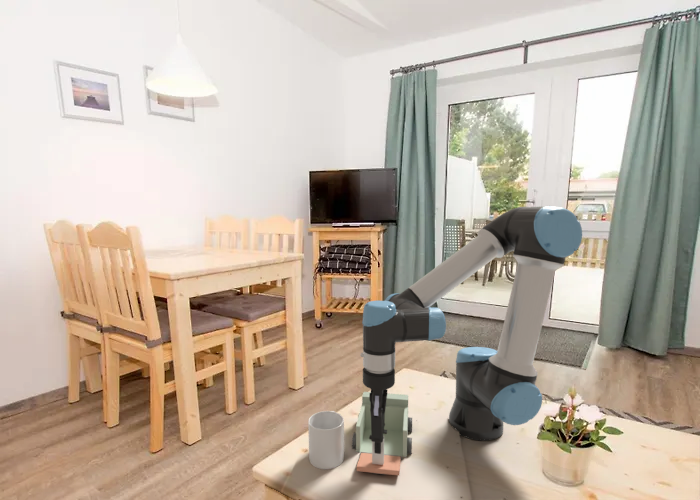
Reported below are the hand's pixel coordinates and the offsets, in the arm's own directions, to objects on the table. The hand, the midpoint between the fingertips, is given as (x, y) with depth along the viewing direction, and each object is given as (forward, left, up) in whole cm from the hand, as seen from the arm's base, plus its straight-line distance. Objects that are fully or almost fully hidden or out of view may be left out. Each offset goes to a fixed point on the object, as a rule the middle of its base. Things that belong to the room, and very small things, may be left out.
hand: (378, 462), depth 94 cm
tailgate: (0, -5, -2) cm, 6 cm away
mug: (+13, -4, -3) cm, 14 cm away
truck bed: (0, -14, -3) cm, 14 cm away
